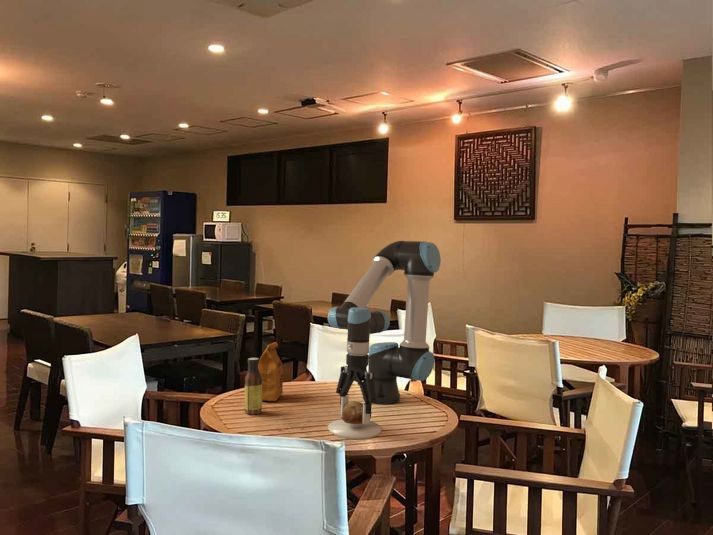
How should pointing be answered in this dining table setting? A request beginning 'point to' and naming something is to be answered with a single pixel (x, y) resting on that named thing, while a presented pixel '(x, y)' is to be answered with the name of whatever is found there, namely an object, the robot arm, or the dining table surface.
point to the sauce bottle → (253, 388)
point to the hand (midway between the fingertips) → (354, 419)
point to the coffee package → (271, 374)
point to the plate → (354, 430)
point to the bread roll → (353, 413)
